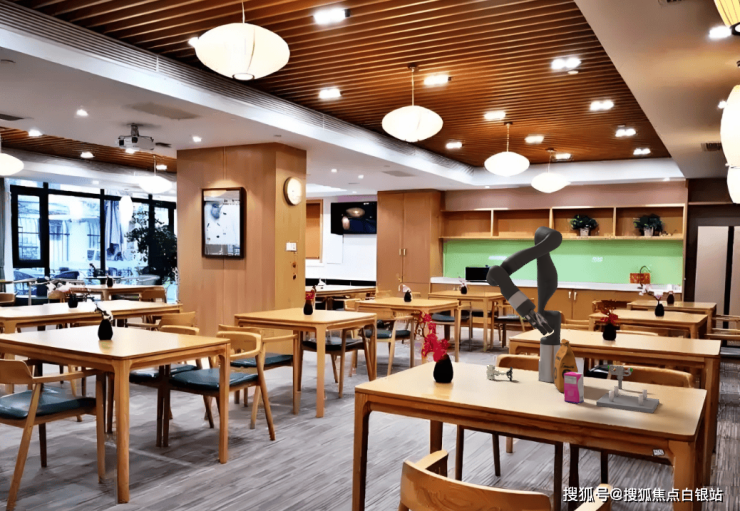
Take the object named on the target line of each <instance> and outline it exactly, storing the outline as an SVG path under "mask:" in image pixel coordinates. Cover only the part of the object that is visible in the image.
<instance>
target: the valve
mask: <svg viewBox="0 0 740 511" xmlns="http://www.w3.org/2000/svg"><path fill="white" fill-rule="evenodd" d="M513 369H514V368H513V367H512V366H509V370H507V371H506V372H505V371H503V370H501V371H500V369H496V366H495V365H494V364H487V365H486V372H485V373H486V380H488V379H491V380H492V381H493V379H494V380H495V379H496V377H499V376H500V375H501V376H506V377H507V378H508V379H509V381H511V382H512V381H513V379H514V378H513V377H514V376H513ZM491 380H490V381H491Z"/></svg>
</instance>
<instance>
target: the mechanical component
mask: <svg viewBox="0 0 740 511" xmlns="http://www.w3.org/2000/svg"><path fill="white" fill-rule="evenodd" d="M607 369H608V370H609V374H610V375H613V376H614V375H615V376H616V379H617V386H618V387H619V390H622V389H623V380H624V377H629V376H631V375H632V373H633V371H634V369H633V368H632V367H629V366H628V368H627V370H626V369H625V367H624V365H615V364H609V365H607ZM626 373H628V374H626Z"/></svg>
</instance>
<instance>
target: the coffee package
mask: <svg viewBox="0 0 740 511" xmlns="http://www.w3.org/2000/svg"><path fill="white" fill-rule="evenodd" d="M560 343H562V344H561V345H560V349H559V350H558V352H557V353H556V356H555V367H554V380H555V382H554V386H555V388H556V389H557V390H558V391H559V392H560V393H562V392H563V393H564V374H565V373H568V372H576V373H579V369H578V365H577V360H576V356H575V354H574V352H573V349H572V346H571V344H570V340H567V339H565V338H562V339H560Z"/></svg>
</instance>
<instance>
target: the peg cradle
mask: <svg viewBox="0 0 740 511" xmlns="http://www.w3.org/2000/svg"><path fill="white" fill-rule="evenodd" d="M613 389H614V390H609V391H608V392H605V394H603V395H602V396H601V397H600V398H599V399H597V401H596V404H595V405H596V406H597V407H602V408H610V409H611V408H612V409H617V410H624V409H625V411H627V410H628V411H631V412H632V411H633V412H634V411H635V412H639V411H640V412H641V413H647V412H648V414H653V413H654V412H655V410H656V409H657V407H658V406H659V404H660V399H658V398H654V397H653V398H651V397H648V389H642V393H638V396H637V395H627V394H619V392H620V391H619V390H620V389H619V387H618V385H615V386H614V387H613ZM657 405H658V406H657Z"/></svg>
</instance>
